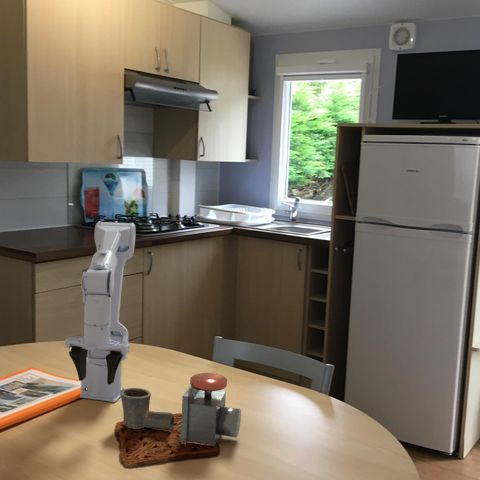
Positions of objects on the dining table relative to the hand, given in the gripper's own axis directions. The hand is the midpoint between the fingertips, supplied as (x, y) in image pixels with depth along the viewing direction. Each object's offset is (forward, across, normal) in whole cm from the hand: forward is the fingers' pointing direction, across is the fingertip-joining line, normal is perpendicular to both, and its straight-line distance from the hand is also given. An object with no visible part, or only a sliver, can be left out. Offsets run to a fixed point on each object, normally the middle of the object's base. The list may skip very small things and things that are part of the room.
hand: (96, 380), depth 140 cm
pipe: (+10, +12, 0) cm, 15 cm away
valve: (+9, +27, 0) cm, 29 cm away
